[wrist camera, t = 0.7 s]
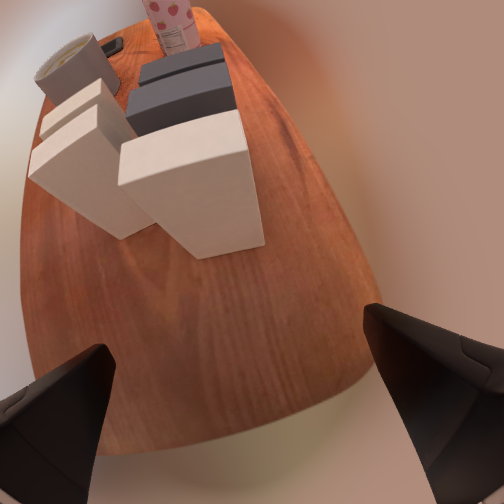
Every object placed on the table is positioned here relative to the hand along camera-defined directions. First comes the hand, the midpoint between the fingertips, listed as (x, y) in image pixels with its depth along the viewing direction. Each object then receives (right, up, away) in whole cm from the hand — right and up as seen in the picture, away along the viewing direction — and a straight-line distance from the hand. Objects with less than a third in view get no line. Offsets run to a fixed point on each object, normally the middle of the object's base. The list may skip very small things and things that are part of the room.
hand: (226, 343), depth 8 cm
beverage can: (-9, +32, +23) cm, 40 cm away
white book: (-1, +4, +13) cm, 14 cm away
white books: (-10, +8, +15) cm, 20 cm away
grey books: (-2, +10, +15) cm, 18 cm away
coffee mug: (-24, +27, +23) cm, 43 cm away
